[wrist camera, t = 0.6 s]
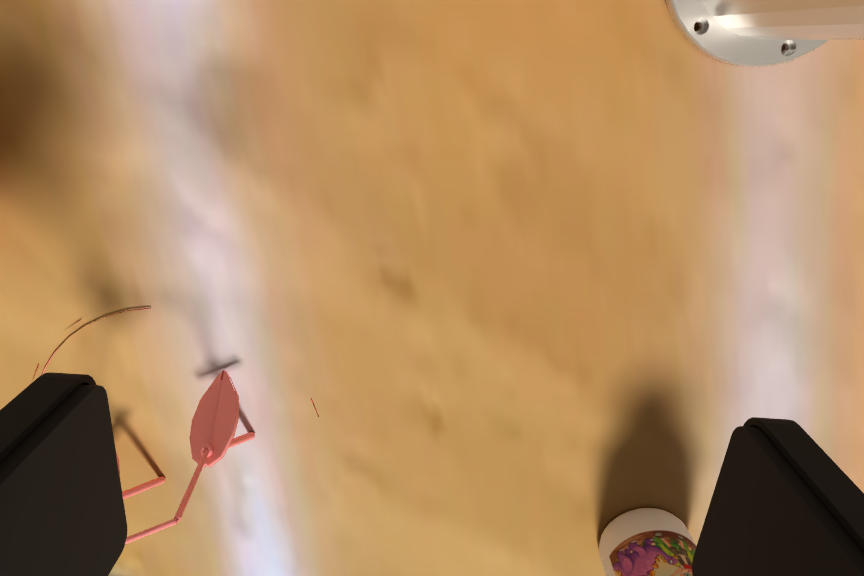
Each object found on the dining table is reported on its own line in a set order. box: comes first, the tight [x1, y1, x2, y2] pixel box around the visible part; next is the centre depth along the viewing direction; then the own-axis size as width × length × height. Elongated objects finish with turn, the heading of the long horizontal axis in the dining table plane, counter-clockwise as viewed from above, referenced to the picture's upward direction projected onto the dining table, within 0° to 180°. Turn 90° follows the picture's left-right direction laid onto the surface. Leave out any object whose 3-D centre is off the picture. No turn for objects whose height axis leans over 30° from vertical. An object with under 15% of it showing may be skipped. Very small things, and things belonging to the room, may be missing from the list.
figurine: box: [33, 308, 319, 544], centre depth 31 cm, size 15×26×35 cm, turn 119°
